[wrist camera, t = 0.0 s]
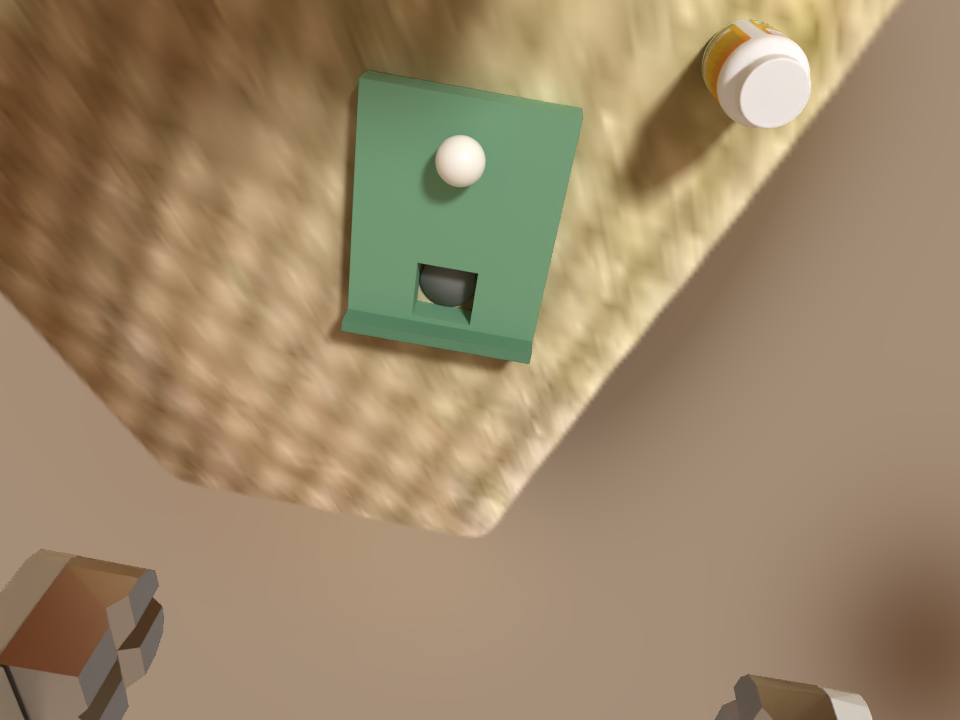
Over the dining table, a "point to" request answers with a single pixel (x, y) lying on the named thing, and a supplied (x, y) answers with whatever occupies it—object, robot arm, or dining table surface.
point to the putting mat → (454, 215)
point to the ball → (460, 161)
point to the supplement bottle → (756, 74)
